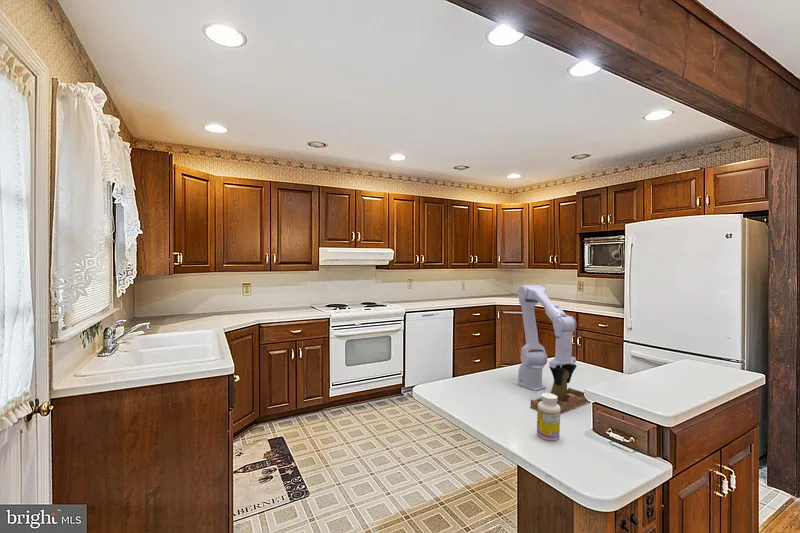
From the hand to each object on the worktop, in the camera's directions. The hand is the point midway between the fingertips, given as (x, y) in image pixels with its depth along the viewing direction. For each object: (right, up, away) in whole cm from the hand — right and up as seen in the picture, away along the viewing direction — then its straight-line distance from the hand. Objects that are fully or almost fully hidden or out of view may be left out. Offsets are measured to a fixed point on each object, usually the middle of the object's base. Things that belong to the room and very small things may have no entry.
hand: (562, 383), depth 139 cm
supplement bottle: (-15, -9, -25) cm, 30 cm away
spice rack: (0, -8, 0) cm, 8 cm away
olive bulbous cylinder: (-1, -6, +1) cm, 6 cm away
